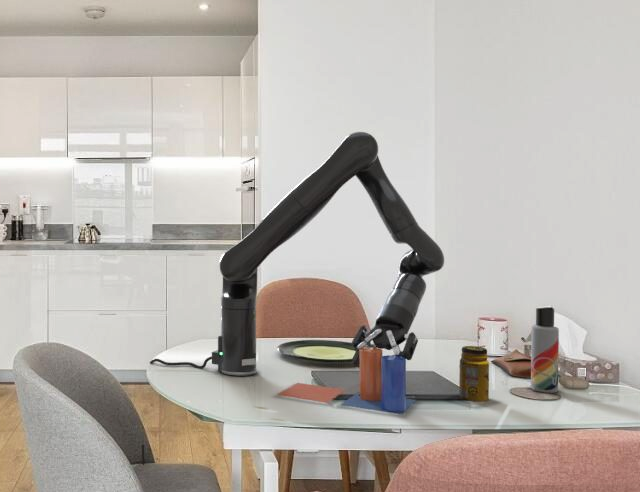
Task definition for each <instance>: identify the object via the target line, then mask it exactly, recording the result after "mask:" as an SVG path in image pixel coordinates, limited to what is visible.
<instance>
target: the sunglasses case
mask: <svg viewBox="0 0 640 492" xmlns="http://www.w3.org/2000/svg"><path fill="white" fill-rule="evenodd" d="M490 362H491V363H492V364H494V365H495V366H497V367H499V368H500V369H502V370H503V371H504V372H505V373H507V374H508V375H510V376H512V377H517V378H523V379H531V356H529V355H527V354H524V353H522V352H521V351H519V350H518V349H514V350H513V351H512V352H510V353H508V354H505V355H502V356H499V357H497V358H493V359H492V360H490Z"/></svg>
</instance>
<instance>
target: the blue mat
mask: <svg viewBox="0 0 640 492" xmlns="http://www.w3.org/2000/svg"><path fill="white" fill-rule="evenodd" d="M415 402H417V399H412V398H406V410H405V411H404V412H389V411H385V410H383V409H382V408H381V400H380V401H368V400H363V399H361V398H360V397H359V391H358V392H356V393H354V394H353V395H352V396H351V397H349V398H348V399H347V400H345V401H343V403H341V404H340V405H341V406H346V407H351V408H358V409H365V410H371V411H377V412H383V413H391V414H397V415H403V414H405V412H406V411H407V410H408V409H409V408H410V407H411V406H412V405H414V403H415Z"/></svg>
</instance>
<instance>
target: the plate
mask: <svg viewBox="0 0 640 492" xmlns="http://www.w3.org/2000/svg"><path fill="white" fill-rule="evenodd" d="M351 343H352V342H349V341H341V340H329V339H301V340H293V341H286V342H283V343H281V344H279V345H278V346H277V347H276V349H277V350H278V351H279V353H281V354H283V355H285V356H288V357H291V358H295V359H299V360H302V361H309V362H318V363H353V361H352V358H353V356H354V354H355V352H356V351H355V349H354V347H353V346H352V344H351ZM365 347H366V346H365ZM365 347H364V348H365Z"/></svg>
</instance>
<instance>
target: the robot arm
mask: <svg viewBox="0 0 640 492" xmlns="http://www.w3.org/2000/svg"><path fill="white" fill-rule="evenodd" d="M354 177H356V179H357V180H358V181H359V182H360V184H361V186H363V188H364V190H365V192H366V193H367V194H368V196H369V198H370V200H371V202H372V204H373V206H374V207H375V209H376V212H377V213H378V215H379V217H380V219H381V220H382V223H383V225H384V226H385V228H386V230H387V231H388V233H389V235H390V236H391V237H390V238H392V240H393V241H394V242H395V243H396V244H400V245H401V244H402V245H403V244H405V245H408V246H409V247H410V248H411V249H410V250H408V251H406V252H405V253H404V254H403V255H402V257H401V258H400V259H399V260H400V261H399V264H398V269H397V275H396V276H397V278H396V281H395V283H394V285H393V287H392V289H391V291H390V292H389V294H388V296H387V297H386V298H385V301H384V303H383V305H382V307H381V309H380V311H379V314H378V315H377V317H376V320H375V325H374V326H373V327H372V328H367V327H366V325H364V324H363V325H360V327H359V328H358V329H357V332H356V333H355V336H354V337H353V339H352V341H351V342H350V343H351V344H352V346H353V347H354V349H355V351H356V352H355V354H354V356H353V358H352V361H353V362H352V363H353V365H354V367H356V368H359V355H360V348H364V347H365V346H366V347H370V348H378V349H382V350H383V349H384V350H387V351H391V350H392V351H393V353H394V354H391V355H392V356H401V357H404V358H406V361H412V359H413V356H414V353H415V351H416V348H417V345H418V342H419V339H418V337H417V336H416V334H415V332H413V331H411V332H410V333H409V331H410V330H411V327H412V324H413V323H414V321H415V318H416V316H417V313H418V311H419V307H420V304H421V302H422V301H423V297H424V295H425V293H426V292H427V291H426V290H427V282H426V281H425V279H424V278H423V277H424V276H428V275H431V274H434V273H436V272H439V271H441V270H442V268H443V267H444V265H445V255H444V252H443V250H442V248H441V246H439V245H438V243H437V242H436V241H435V240H434V239H433V238H432V237H431V236H430V235H429V234H428V233H427V232H426V231H425V230H424V229H423V228H422V227H421V226H420V224H419V223H418V221H417V219H416V218H415V217H414V215H413V212H412V211H411V209H410V207H408V204H407V203H406V202H405V200H404V199H403V197H402V196H401V194H400V193H399V192H398V191H397V189H396V188H395V186H394V185H393V183H392V182H391V180H390V179H389V177H388V176H387V174H386V172H385V170H384V168H383V165H382V163H381V160H380V157H379V144H378V141H377V139H376V138H375V137H374V136H373V135H372V134H371V133H368V132H366V131H355V132H352V133H350V134H348V135H346V137H344V138H343V140H342V141H341V143H340V144H339V145H337V148H335V150H334V151H333V152H332V153H331V154H330V155H329V157H328V158H326V160H324V162H323V163H322V164H321V165H320V166H319V167H318V168H316V170H314V171H313V172H311V173H310V174H308V175H307V176H306V177H304V179H302V180H301V181H300V182H298V183H297V184H296V185H295V186H294V187H292V189H290V190H289V191H288V192H287V193H285V195H284V196H283V197H282V198H280V200H279V201H277V203H276V204H275V205H274V206H273V207H272V208H271V209H270V210H269V212H267V214H266V215H265V216H264V217H263V219H261V221H260V222H259V223H258V224H257V226H256V227H255V228H254V229H253V230H252V231H251V232H250V233H249V234H247V235H246V236H244V238H243V239H241V240H240V241H239V242H238V243H236V244H235V245H233V246H232V247H230V248H228V249H226V251H225V252H224V253H222V255H221V257H220V260H219V271H220V275H222V288H221V289H222V290H221V295H220V335H218V336H217V349H216V350H213V351H212V352H211V356H209V357H207V358H206V359H205V360H204V361H203V364H202V365H199V364H196V363H193V362H190V361H189V362H188V361H180V362H167V361H165V360H162V359H159V358H153V359H154V360H153V359H152V360H151V361H150V362H149V364H154V363H155V362H158V363H160V364H162V365H165V366H171V367H173V366H191V367H194V368H195V369H200V370H201V369H204V368H206V366H207V364H208V362H209V361H211V364H212V365H217V373H221V374H224V375H228V376H234V377H246V376H252V375H255V374H257V299H258V268H259V267H260V266H261V264H262V263H264V261H265V260H266V259H267V258H268V257H269V256H270V255H271V254H272V253H273V252H274V251H275V250H277V249H278V248H279V247H280V246H282V245H283V244H285V243H286V242H287V241H289V240H290V239H291V238H293V237H294V236H295V235H297V234H298V233H299V232H300V231H302V229H304V228H305V227H306V226H308V224H309V223H311V222H312V221H313V220H314V219H315V218H316V217H317V216H318V215H319V214H320V213H321V211H322V210H323V209H325V207H326V206H327V205H328V204H329V203H330V201H331V200H332V199H333V198H334V196H335V195H336V193H338V191H339V190H340V189H341V188H342V187H343V186H344V185H345V184H346V183H348V182H349V181H350V180H352V179H353V178H354ZM371 342H373V343H371ZM404 342H405V344H404V347H403V349H402V350H401V347H400V345H401V344H402V343H404ZM366 347H365V348H366ZM145 461H146V460H145V444H141V465H142V464H143V465H144V464H145V463H146V462H145ZM145 465H146V464H145Z"/></svg>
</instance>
